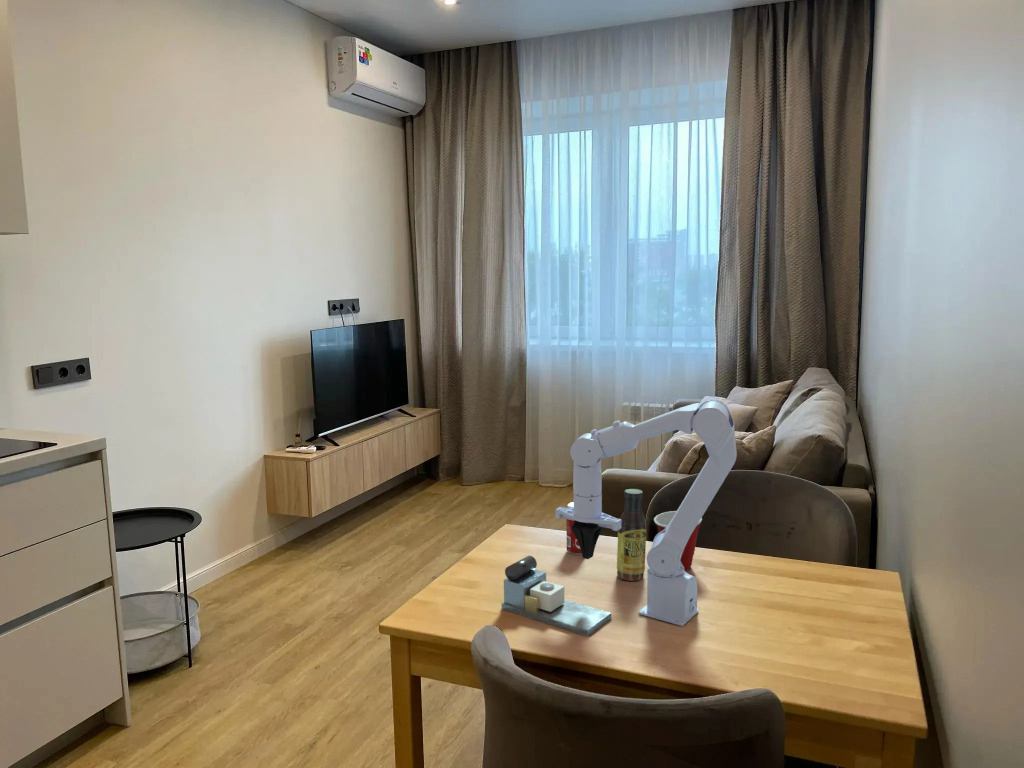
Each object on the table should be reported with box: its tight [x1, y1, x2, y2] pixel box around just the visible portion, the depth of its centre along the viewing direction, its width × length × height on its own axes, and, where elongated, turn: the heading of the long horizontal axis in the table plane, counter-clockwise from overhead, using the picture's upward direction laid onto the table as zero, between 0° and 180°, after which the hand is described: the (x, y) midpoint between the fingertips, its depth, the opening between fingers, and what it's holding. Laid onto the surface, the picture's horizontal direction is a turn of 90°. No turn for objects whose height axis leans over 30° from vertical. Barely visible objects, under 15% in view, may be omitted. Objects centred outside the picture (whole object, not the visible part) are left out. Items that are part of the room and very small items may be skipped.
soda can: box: [565, 501, 582, 556], centre depth 183 cm, size 5×5×12 cm
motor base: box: [501, 555, 612, 637], centre depth 150 cm, size 20×9×9 cm, turn 53°
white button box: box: [530, 580, 565, 612], centre depth 152 cm, size 5×5×4 cm
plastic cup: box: [653, 510, 703, 572], centre depth 173 cm, size 11×11×12 cm
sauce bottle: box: [616, 488, 647, 582], centre depth 167 cm, size 6×6×20 cm
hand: (587, 557), depth 154 cm, fingers closed
